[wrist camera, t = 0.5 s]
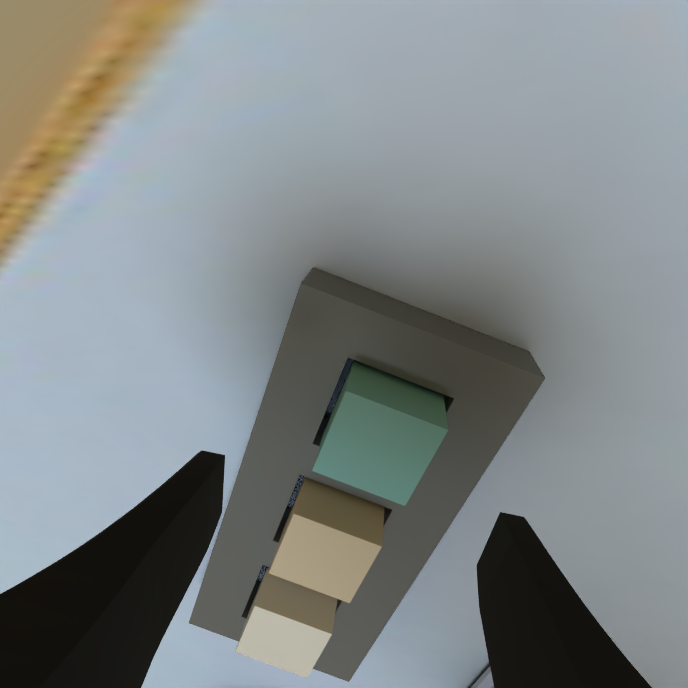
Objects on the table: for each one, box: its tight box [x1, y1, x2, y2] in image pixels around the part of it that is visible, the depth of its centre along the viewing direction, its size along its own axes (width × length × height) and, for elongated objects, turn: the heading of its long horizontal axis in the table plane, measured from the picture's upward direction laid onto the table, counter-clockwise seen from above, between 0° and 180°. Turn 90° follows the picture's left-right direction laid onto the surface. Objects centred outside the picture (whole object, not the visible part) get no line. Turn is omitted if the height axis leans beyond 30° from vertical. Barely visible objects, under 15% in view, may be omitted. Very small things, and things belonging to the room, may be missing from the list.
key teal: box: [312, 360, 448, 506], centre depth 18 cm, size 4×4×3 cm
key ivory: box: [235, 567, 338, 678], centre depth 24 cm, size 4×4×3 cm
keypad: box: [189, 268, 545, 682], centre depth 23 cm, size 22×10×2 cm, turn 160°
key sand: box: [269, 477, 385, 603], centre depth 21 cm, size 4×4×3 cm
